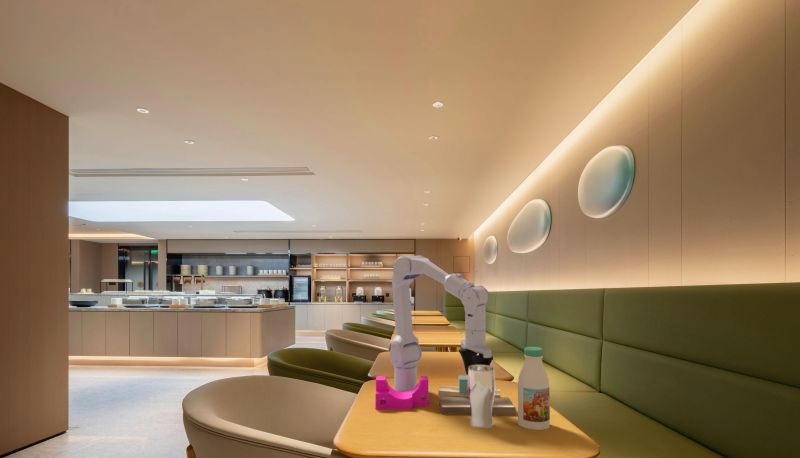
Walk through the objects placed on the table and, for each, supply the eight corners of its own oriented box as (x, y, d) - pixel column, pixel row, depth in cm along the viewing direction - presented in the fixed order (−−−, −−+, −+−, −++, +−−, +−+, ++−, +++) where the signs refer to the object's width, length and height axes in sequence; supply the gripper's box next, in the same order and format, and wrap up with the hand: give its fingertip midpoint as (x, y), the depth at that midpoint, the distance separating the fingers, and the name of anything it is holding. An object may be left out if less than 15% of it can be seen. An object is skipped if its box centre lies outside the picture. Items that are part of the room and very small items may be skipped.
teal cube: (458, 388, 139) (458, 375, 139) (472, 389, 139) (472, 375, 139) (459, 393, 135) (459, 379, 135) (473, 393, 135) (473, 379, 135)
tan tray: (440, 395, 142) (440, 385, 142) (500, 399, 138) (500, 389, 138) (438, 400, 137) (438, 390, 137) (500, 405, 133) (500, 395, 134)
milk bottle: (512, 427, 117) (512, 348, 117) (527, 419, 122) (526, 343, 123) (541, 436, 111) (540, 353, 112) (555, 427, 117) (554, 347, 118)
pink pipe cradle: (375, 409, 130) (375, 382, 130) (376, 401, 136) (376, 376, 136) (428, 409, 130) (428, 382, 130) (427, 401, 136) (427, 376, 136)
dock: (439, 404, 133) (439, 396, 133) (508, 404, 133) (508, 396, 133) (441, 414, 125) (441, 406, 125) (515, 414, 125) (515, 407, 125)
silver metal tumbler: (478, 435, 112) (478, 373, 112) (462, 425, 118) (462, 366, 119) (501, 430, 115) (501, 369, 116) (483, 420, 122) (483, 363, 122)
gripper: (451, 325, 137) (451, 371, 136) (474, 335, 123) (475, 386, 123) (473, 324, 139) (473, 369, 139) (498, 333, 125) (498, 384, 125)
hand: (475, 377), depth 131 cm, fingers open, 6 cm apart
